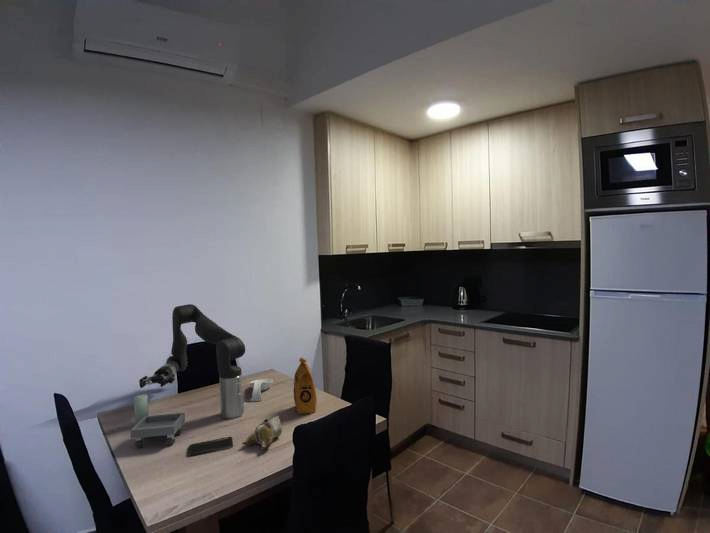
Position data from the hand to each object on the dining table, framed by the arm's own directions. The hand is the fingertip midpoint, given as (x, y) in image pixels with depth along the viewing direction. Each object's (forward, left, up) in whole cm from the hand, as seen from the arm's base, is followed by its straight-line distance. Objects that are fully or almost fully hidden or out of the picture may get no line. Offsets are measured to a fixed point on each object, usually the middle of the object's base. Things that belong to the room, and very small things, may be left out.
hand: (151, 385), depth 166 cm
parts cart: (-13, +27, -13) cm, 33 cm away
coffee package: (-68, +9, -13) cm, 70 cm away
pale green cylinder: (0, +11, -13) cm, 17 cm away
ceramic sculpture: (-54, +36, -13) cm, 66 cm away
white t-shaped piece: (-45, -16, -13) cm, 50 cm away
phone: (-34, +36, -13) cm, 52 cm away
